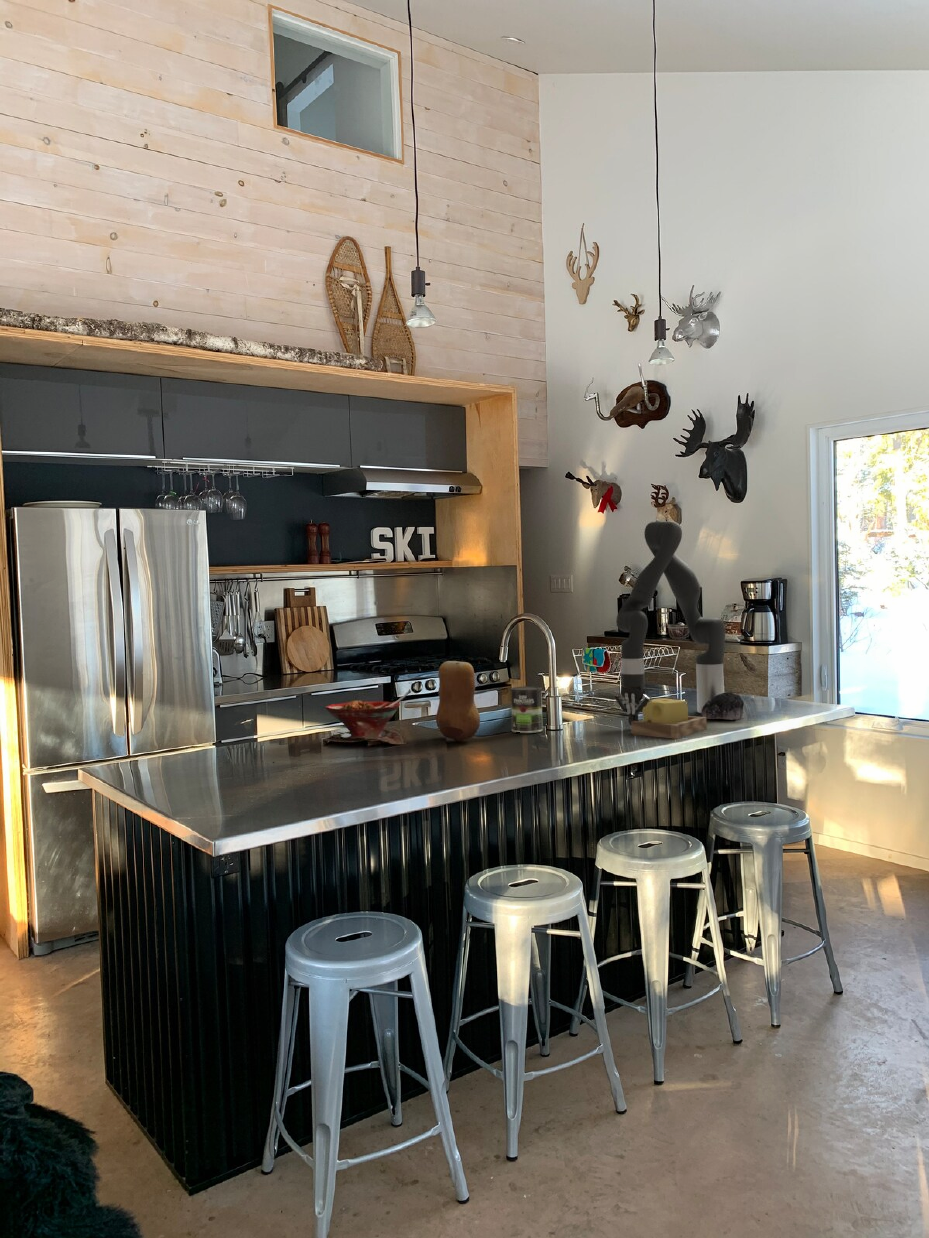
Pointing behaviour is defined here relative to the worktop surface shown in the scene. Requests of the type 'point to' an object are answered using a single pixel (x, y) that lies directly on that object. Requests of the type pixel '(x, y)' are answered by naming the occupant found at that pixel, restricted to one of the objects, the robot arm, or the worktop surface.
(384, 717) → the stew
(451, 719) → the butternut squash
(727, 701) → the dark brown rock
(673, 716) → the cheese
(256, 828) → the worktop surface
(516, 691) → the coffee can
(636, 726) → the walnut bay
